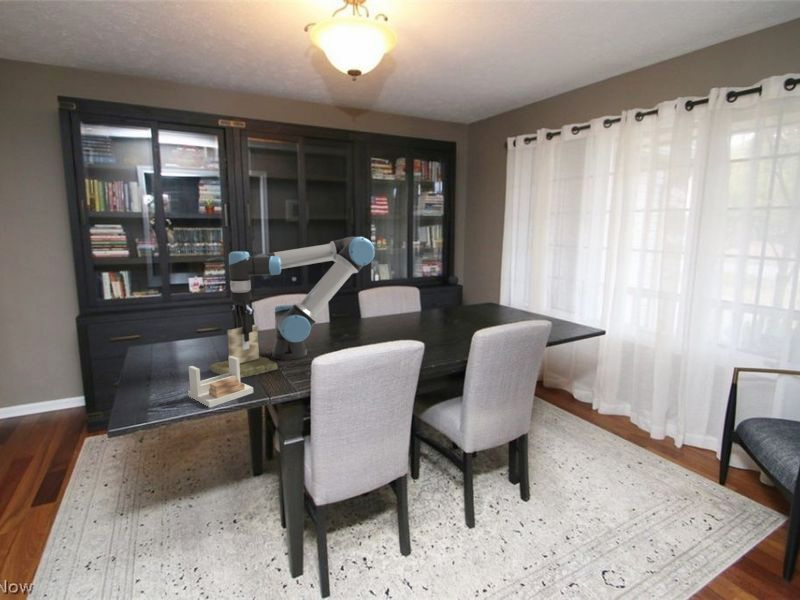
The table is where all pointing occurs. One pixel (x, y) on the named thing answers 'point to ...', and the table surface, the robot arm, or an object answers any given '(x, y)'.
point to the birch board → (236, 345)
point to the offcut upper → (224, 384)
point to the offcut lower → (227, 391)
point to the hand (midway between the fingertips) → (244, 348)
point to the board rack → (201, 388)
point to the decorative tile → (246, 367)
